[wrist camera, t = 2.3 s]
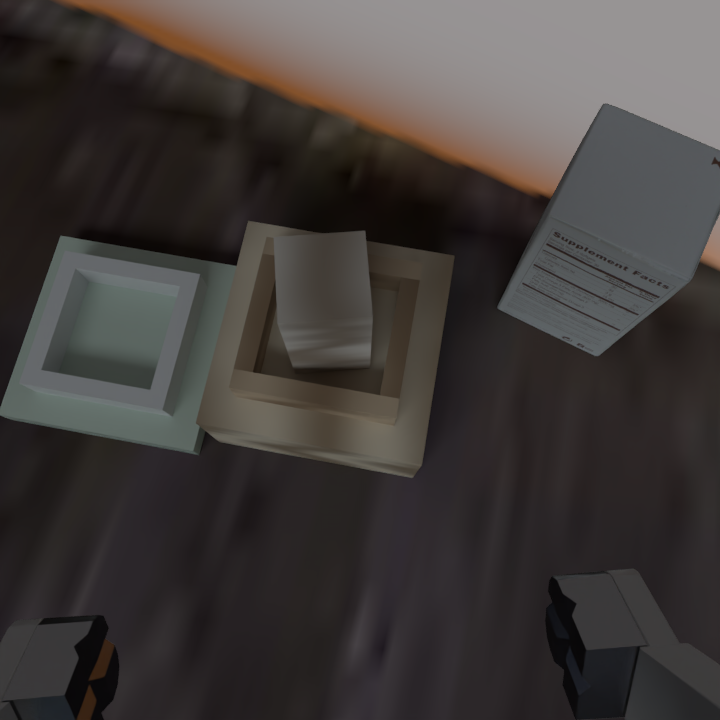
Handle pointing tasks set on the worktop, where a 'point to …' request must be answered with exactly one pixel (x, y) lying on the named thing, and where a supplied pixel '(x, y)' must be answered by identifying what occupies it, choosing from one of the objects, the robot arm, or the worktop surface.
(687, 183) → the supplement box
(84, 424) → the sage socket plate
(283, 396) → the birch stand
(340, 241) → the cream plug block
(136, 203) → the worktop surface
